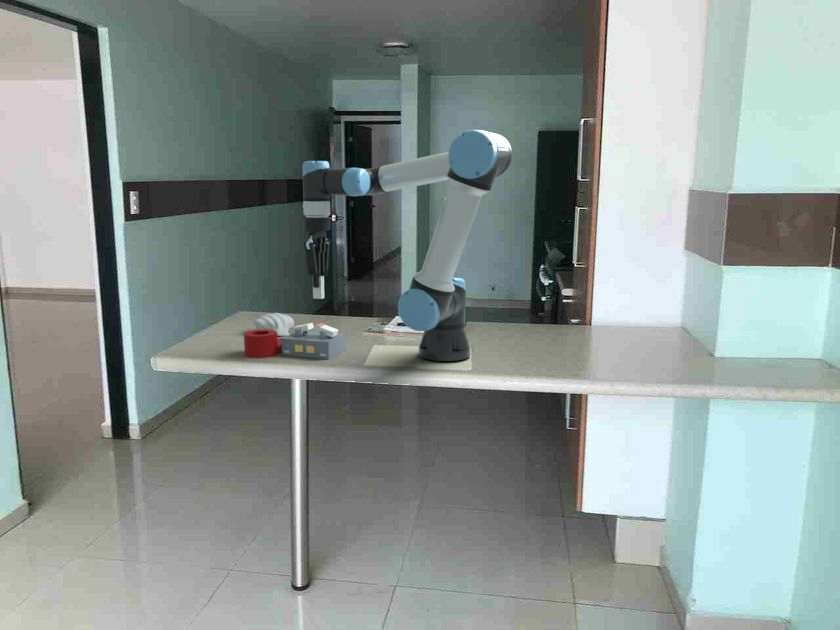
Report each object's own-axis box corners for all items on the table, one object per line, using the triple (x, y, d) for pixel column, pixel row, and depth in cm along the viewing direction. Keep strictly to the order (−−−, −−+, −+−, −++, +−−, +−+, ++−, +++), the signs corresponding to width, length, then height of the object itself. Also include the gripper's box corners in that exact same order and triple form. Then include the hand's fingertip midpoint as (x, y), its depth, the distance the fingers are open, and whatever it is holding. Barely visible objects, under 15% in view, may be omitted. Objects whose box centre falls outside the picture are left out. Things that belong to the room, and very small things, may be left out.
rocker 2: (337, 334, 199) (338, 329, 198) (332, 337, 195) (333, 331, 195) (319, 328, 200) (320, 322, 200) (313, 330, 197) (315, 325, 196)
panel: (345, 349, 204) (345, 326, 202) (328, 359, 192) (327, 334, 191) (301, 345, 208) (300, 322, 207) (281, 355, 197) (280, 331, 195)
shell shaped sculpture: (258, 330, 230) (258, 311, 229) (296, 329, 231) (295, 311, 230) (251, 338, 217) (250, 318, 216) (291, 338, 218) (290, 318, 217)
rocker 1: (313, 327, 201) (312, 322, 201) (308, 330, 197) (306, 324, 197) (296, 331, 203) (295, 325, 203) (290, 333, 199) (289, 328, 199)
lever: (266, 360, 192) (265, 337, 190) (238, 357, 195) (237, 334, 193) (299, 346, 208) (298, 325, 207) (272, 343, 211) (272, 322, 210)
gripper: (315, 215, 199) (317, 293, 204) (293, 217, 187) (296, 301, 191) (338, 215, 197) (340, 295, 202) (318, 217, 185) (320, 302, 189)
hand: (318, 298), depth 197 cm, fingers closed
